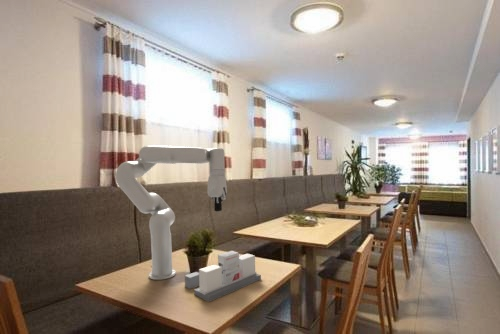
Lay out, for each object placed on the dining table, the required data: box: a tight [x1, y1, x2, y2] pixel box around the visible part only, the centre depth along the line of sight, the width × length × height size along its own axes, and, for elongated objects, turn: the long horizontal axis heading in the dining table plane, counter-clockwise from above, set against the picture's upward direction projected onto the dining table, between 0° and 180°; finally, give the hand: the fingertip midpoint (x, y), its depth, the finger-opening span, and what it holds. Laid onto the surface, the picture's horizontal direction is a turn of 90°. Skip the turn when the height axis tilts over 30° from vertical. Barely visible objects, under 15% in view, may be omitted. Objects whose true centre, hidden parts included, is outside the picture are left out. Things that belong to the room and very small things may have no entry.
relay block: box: [184, 271, 199, 290], centre depth 133 cm, size 4×6×5 cm, turn 135°
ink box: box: [217, 250, 240, 284], centre depth 131 cm, size 9×5×12 cm, turn 134°
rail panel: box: [193, 253, 262, 303], centre depth 131 cm, size 10×30×11 cm, turn 135°
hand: (218, 210), depth 146 cm, fingers closed
